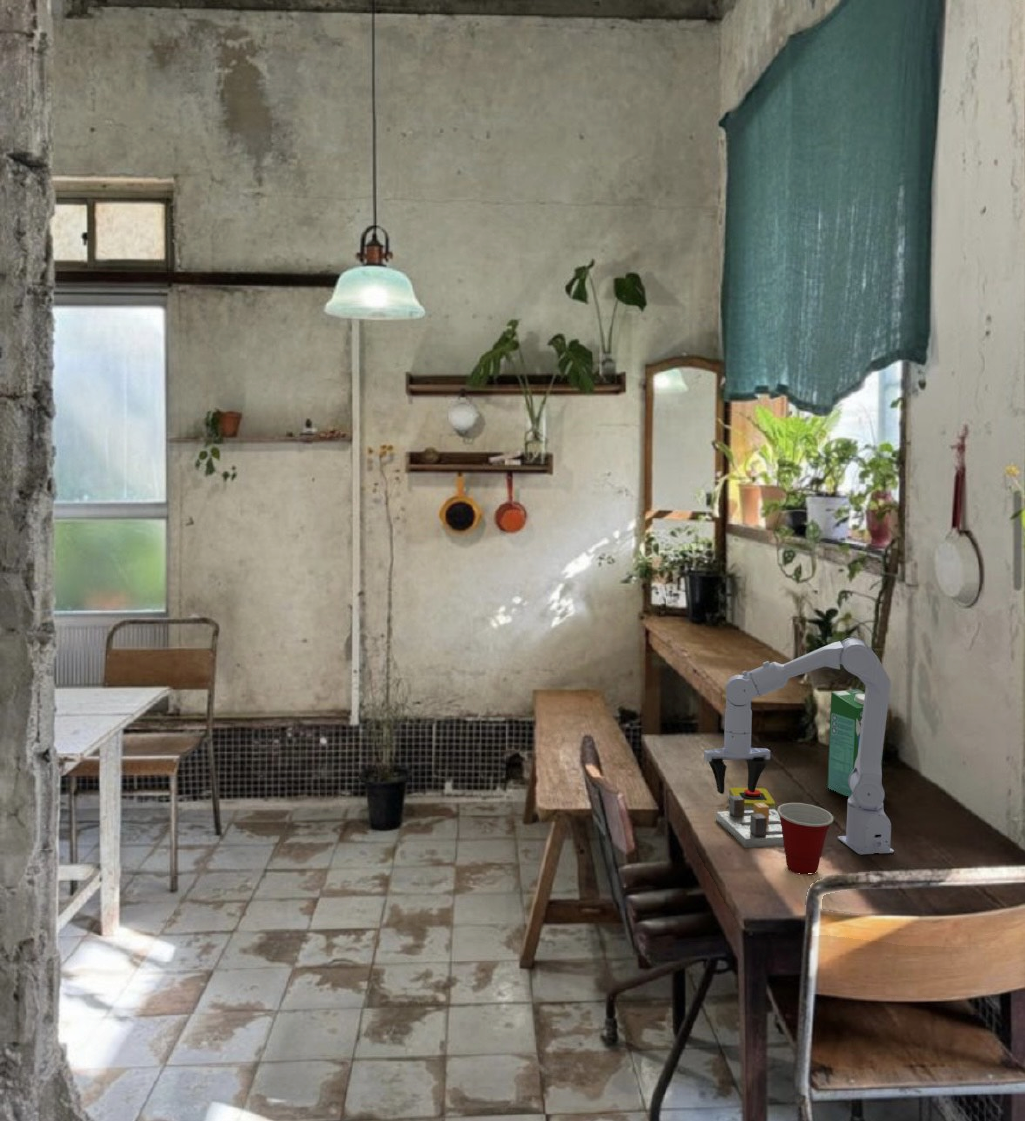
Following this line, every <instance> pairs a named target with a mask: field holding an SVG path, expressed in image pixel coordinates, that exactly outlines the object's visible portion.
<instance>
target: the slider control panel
mask: <svg viewBox="0 0 1025 1121" xmlns="http://www.w3.org/2000/svg"><path fill="white" fill-rule="evenodd" d="M744 804H745V800H744V799H743V798H742V797H741V796H730V801H729V809H728V810H727V811H726V810H724V811H716V822H717V823H719V825H720V826H722V827H723V828H724V829H725V830H726V831H727V830H728V831H729V832H730V833H731V834H730V833H729V832H728V831H727V832H728V833H729V834H730V835H733V836H734V837H735V838H736V839H737V840H738V841H737V840H736V839H735V838H734V837H733V836H732V837H733V838H734V839H735V840H736V841H737V842H738V843H740V844H741V845H742V846H743V847H744V848H745V849H757V848H773V847H774V848H775V846H778V847H784V843H783V834H782V826H781V821H780V816H779V814H778V811H777V810H776V808H775V809H769V824H766V823H767V818H766V817H765V816H764V815H762V814H753V810H745V811H744Z"/></svg>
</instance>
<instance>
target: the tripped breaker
mask: <svg viewBox="0 0 1025 1121" xmlns="http://www.w3.org/2000/svg"><path fill="white" fill-rule="evenodd" d="M753 814H762V815H764V816H765V817H766V818H767V823H766V824H769V807H768V806H767V805H766V804H765V803H754V810H753Z"/></svg>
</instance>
